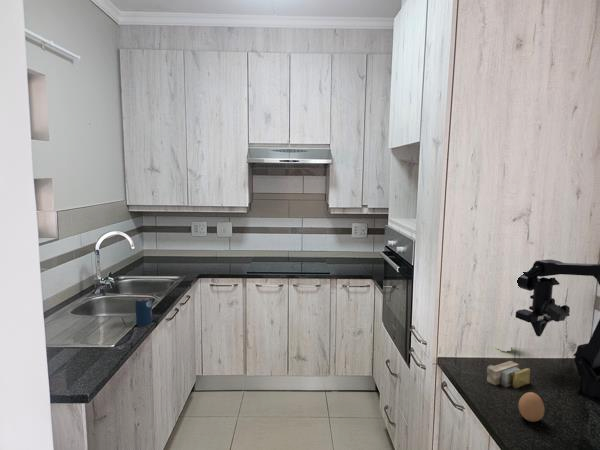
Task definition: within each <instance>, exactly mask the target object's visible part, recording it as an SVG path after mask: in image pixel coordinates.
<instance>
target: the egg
mask: <svg viewBox="0 0 600 450" xmlns="http://www.w3.org/2000/svg"><path fill="white" fill-rule="evenodd" d="M518 411H519V413H520V415H521V416H522V417H523V418H524V420H527V421H528V422H531V423H534V422H538V421H540V420H542V418H543V417H544V415H545V404H544V402H543V399H542V398H541V397H540V396H539V395H538V394H537V393H536V392H533V391H531V392H526V393H524V394H522V396H521V397H520V398H519V401H518Z"/></svg>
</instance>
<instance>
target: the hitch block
mask: <svg viewBox="0 0 600 450" xmlns="http://www.w3.org/2000/svg"><path fill="white" fill-rule="evenodd" d="M519 365H520V364H519V363H516V362H515V361H512V360H509V361H506V362H503V363H499V364H496V365H492V366H493V367H489V368H488V373H487V376H486V377H487V379H486V382H487V383H490V384H491V385H493V386H497V385H501V378H502V371H505V370H508V369H511V368H514V367H516V368H518V369H519Z"/></svg>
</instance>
